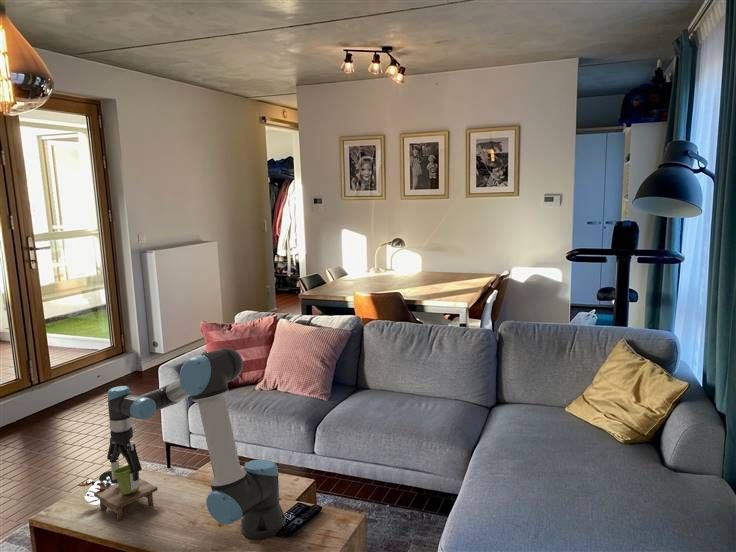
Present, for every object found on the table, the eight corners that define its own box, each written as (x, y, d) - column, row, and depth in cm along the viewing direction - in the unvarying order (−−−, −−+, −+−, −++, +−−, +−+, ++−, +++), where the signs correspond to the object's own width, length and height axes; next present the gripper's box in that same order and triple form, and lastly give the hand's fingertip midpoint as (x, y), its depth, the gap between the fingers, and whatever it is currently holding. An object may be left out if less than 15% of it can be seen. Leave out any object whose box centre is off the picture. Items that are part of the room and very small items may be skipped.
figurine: (135, 472, 216) (103, 485, 198) (132, 495, 215) (101, 511, 198) (105, 466, 219) (72, 479, 202) (103, 490, 219) (69, 505, 201)
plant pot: (110, 497, 194) (106, 474, 194) (127, 487, 204) (124, 464, 204) (133, 495, 192) (129, 471, 192) (149, 485, 201) (145, 462, 202)
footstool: (158, 504, 202) (157, 487, 202) (117, 524, 190) (115, 505, 189) (135, 492, 212) (134, 475, 211) (95, 510, 199) (93, 492, 199)
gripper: (149, 432, 193) (153, 488, 195) (114, 418, 208) (117, 470, 210) (129, 439, 187) (133, 497, 189) (94, 424, 202) (98, 478, 204)
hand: (125, 483), depth 200 cm, fingers open, 13 cm apart
